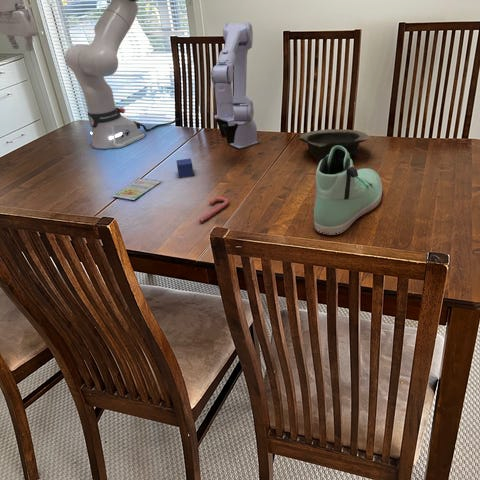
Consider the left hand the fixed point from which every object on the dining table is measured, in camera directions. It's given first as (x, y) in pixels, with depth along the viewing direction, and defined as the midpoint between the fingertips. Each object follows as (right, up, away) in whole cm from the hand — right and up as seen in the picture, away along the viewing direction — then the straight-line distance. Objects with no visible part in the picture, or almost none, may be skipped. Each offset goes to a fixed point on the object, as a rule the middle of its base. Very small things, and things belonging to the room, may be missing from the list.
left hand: (23, 49), depth 161 cm
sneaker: (+104, -55, -22) cm, 120 cm away
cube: (+54, -41, +8) cm, 68 cm away
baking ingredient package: (+38, -47, 0) cm, 61 cm away
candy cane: (+65, -55, -18) cm, 87 cm away
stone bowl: (+107, -33, +14) cm, 112 cm away
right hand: (+68, -28, +11) cm, 75 cm away
